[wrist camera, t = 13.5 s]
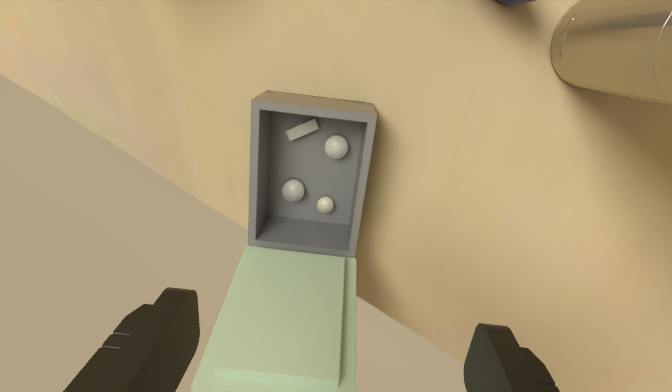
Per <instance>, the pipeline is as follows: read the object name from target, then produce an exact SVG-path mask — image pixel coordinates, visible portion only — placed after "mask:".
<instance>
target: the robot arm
mask: <svg viewBox="0 0 672 392" xmlns="http://www.w3.org/2000/svg"><path fill="white" fill-rule="evenodd" d="M551 59H552V64H553V67H554V69H555V71H556V73H557V74H558V75H559V77H560V78H561V79H562V80H564V81H565V82H566V83H568V84H570V85H573V86H576V87H580V88H585V89H590V90H595V91H599V92H604V93H609V94H614V95H619V96H624V97H629V98H634V99H639V100H644V101H649V102H654V103H659V104H664V105H669V106H672V0H581V1H580V2H578V3H577V4H576V5H574V6H573V7H572V8H571V9H570V10H569V11H568V12H567V13H566V14H565V16H564V17H563V18H562V20H561V21H560V23H559V25H558V26H557V29H556V31H555V33H554V36H553V40H552V44H551ZM199 336H200V327H199V313H198V299H197V293H196V291H195V290H188V289H179V288H170V287H169V288H166V289H165V290H164V291H163V292H162V294H161V295H160V297H159V298H158V299H157V300H156V302H155V303H154V304H153V305H149V304H143V305H142V306H140V307H139V308H137V309H136V310H134V311H133V312H131V313H130V314H129V315H127V316H126V317H125V318H124V319H123V320H122V322H121V323H120V324H119V325H118V326H117V328H116V329H115V330H114V331H113V334H112V335H110V336H109V337H108V338H107V340H106V341H105V342H104V343H103V345H102V348H99V349H98V351H97V352H96V353H95V354H94V355H93V356H92V358H91V359H90V360H89V361H88V363H87V364H86V365H85V366H84V367H83V368H82V370H81V371H80V372H79V373H78V374H77V376H76V377H75V378H74V379H73V380H72V382H71V383H70V384H69V385H68V386H67V388H66V389H65V390H64V391H63V392H175V391H176V389H177V387H178V385H179V383H180V381H181V379H182V378H183V375H184V374H185V372H186V370H187V368H188V366H189V364H190V362H191V360H192V358H193V356H194V354H195V352H196V349H197V346H198V342H199ZM464 382H465V387H466V390H467V392H560V391H559V389H558V387H555V382H554V380H553V379H552V377H551V375H550V373H549V372H548V370H547V368H546V366H545V365H544V364H543V363H542V362H541V361H540V360H539V359H538V358H537V357H536V356H535V355H534V354H533V353H532V352H531V351H530V350H529V349H528V348H522V347H520V346H519V344H518V343H517V341H516V339H515V337H514V335H513V333H512V331H511V330H510V328H509V327H507V326H501V325H492V324H483V323H479V324H478V325H477V327H476V329H475V332H474V335H473V338H472V341H471V344H470V347H469V350H468V354H467V357H466V360H465V364H464Z"/></svg>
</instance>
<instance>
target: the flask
mask: <svg viewBox="0 0 672 392" xmlns="http://www.w3.org/2000/svg"><path fill="white" fill-rule="evenodd" d="M496 1H497V2H498V3H500V4H503V5H505V6H516V5H518V4H522V3H525V2H531V1H535V0H496Z"/></svg>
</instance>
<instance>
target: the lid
mask: <svg viewBox="0 0 672 392" xmlns="http://www.w3.org/2000/svg"><path fill="white" fill-rule="evenodd" d="M355 371H356V258H348V257H340V256H331V255H322V254H314V253H305V252H297V251H288V250H279V249H271V248H262V247H254V246H246V247H245V250H244V252H243V255H242V257H241V260H240V262H239V265H238V268H237V270H236V273H235V275H234V278H233V280H232V283H231V286H230V288H229V291H228V293H227V296H226V298H225V301H224V304H223V306H222V309H221V311H220V314H219V316H218V319H217V322H216V324H215V327H214V329H213V332H212V335H211V337H210V340H209V342H208V345H207V347H206V350H205V352H204V355H203V358H202V360H201V363H200V365H199V368H198V370H197V373H196V376H195V378H194V381H193V383H192V386H191V390H192V392H355V378H356V372H355Z"/></svg>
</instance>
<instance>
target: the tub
mask: <svg viewBox="0 0 672 392" xmlns="http://www.w3.org/2000/svg"><path fill="white" fill-rule="evenodd" d="M376 121H377V113H376V110H375V108H374V105H373V103H365V102H357V101H349V100H340V99H332V98H324V97H316V96H308V95H300V94H292V93H284V92H275V91H265V92H264V93H262V94H260V95H259V96H257V97H255V98H254V99H252V100H251V139H250V181H249V223H248V246H256V247H264V248H273V249H282V250H290V251H299V252H307V253H316V254H324V255H333V256H342V257H350V258H355V253H356V247H357V241H358V234H359V228H360V222H361V215H362V209H363V203H364V196H365V190H366V184H367V178H368V171H369V165H370V159H371V152H372V146H373V140H374V134H375V127H376Z"/></svg>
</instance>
